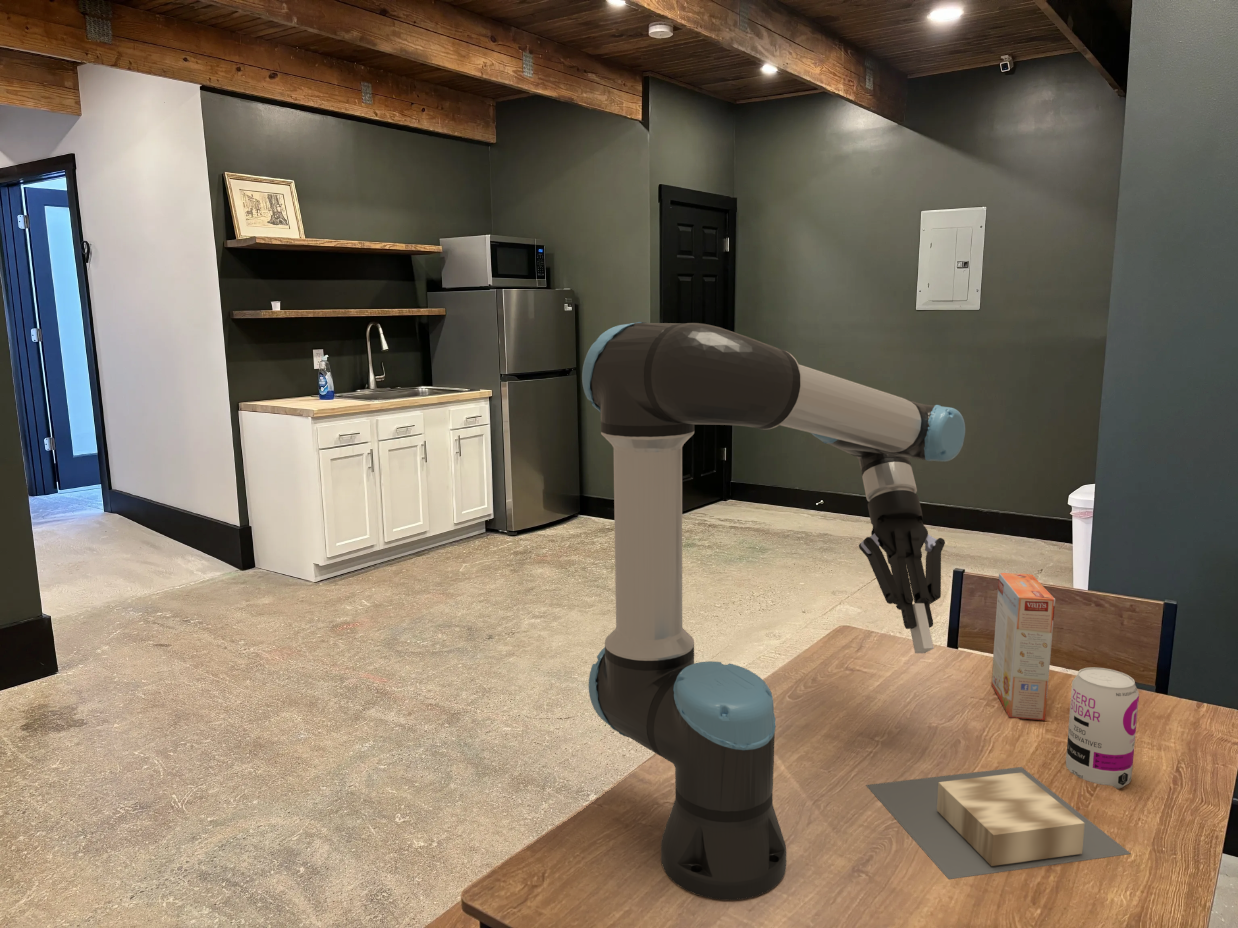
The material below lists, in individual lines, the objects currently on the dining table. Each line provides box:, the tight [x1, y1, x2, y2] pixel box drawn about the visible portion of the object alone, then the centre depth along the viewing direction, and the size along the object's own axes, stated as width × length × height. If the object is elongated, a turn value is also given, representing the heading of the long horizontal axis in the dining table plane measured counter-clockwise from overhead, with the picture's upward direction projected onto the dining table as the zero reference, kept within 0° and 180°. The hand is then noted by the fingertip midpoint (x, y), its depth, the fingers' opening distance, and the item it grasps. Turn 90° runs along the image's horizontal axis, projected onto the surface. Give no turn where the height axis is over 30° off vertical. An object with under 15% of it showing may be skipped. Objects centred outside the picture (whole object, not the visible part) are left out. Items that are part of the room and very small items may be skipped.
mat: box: [865, 766, 1132, 880], centre depth 114 cm, size 24×21×1 cm
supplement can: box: [1065, 666, 1140, 790], centre depth 124 cm, size 8×8×15 cm
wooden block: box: [937, 772, 1085, 866], centre depth 110 cm, size 12×4×12 cm
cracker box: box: [990, 572, 1056, 721], centre depth 147 cm, size 14×6×21 cm, turn 168°
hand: (924, 650), depth 123 cm, fingers closed
